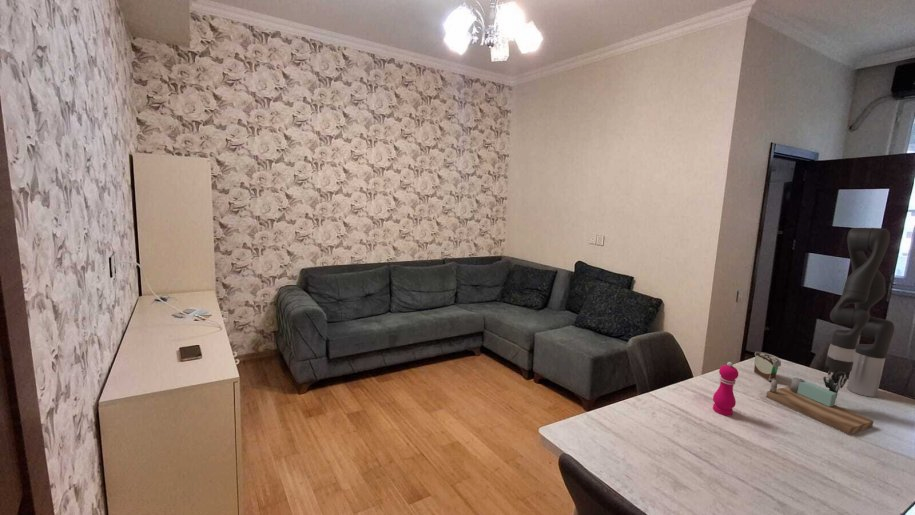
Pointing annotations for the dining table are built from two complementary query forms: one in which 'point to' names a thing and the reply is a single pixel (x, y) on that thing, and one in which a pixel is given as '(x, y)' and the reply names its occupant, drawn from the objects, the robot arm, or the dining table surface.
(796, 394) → the board
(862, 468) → the dining table surface
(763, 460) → the dining table surface
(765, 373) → the food container
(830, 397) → the hinged leg
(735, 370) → the pepper mill
